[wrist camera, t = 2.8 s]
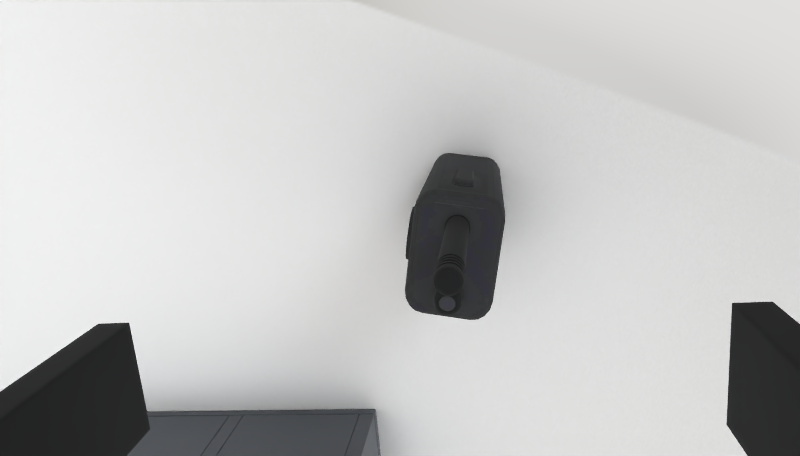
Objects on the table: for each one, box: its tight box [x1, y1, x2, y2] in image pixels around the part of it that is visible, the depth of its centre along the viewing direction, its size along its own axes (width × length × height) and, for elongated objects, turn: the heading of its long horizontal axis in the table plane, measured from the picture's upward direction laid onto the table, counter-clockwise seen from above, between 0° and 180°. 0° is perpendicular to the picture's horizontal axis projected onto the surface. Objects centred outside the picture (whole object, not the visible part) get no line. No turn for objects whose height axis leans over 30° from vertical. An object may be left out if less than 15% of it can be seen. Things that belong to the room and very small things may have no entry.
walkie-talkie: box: [405, 153, 505, 320], centre depth 24 cm, size 5×3×15 cm
